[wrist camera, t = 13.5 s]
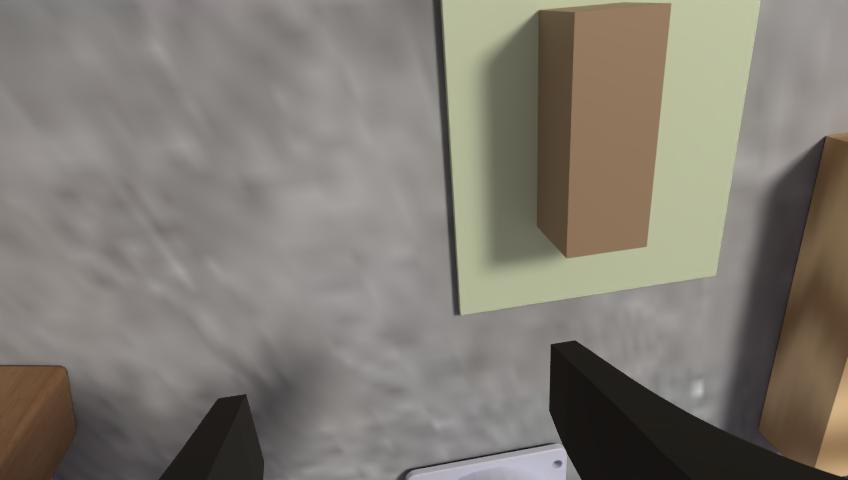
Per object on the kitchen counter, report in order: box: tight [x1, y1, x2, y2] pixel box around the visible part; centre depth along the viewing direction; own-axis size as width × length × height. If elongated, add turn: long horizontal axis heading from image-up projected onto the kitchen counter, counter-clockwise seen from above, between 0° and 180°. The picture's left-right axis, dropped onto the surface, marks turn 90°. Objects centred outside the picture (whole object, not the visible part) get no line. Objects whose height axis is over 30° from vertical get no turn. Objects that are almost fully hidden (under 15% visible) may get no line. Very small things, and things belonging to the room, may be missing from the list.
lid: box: [440, 0, 761, 315], centre depth 20 cm, size 15×12×4 cm
